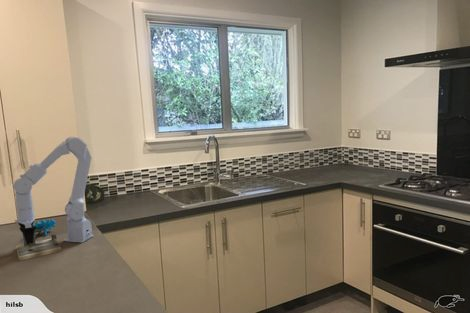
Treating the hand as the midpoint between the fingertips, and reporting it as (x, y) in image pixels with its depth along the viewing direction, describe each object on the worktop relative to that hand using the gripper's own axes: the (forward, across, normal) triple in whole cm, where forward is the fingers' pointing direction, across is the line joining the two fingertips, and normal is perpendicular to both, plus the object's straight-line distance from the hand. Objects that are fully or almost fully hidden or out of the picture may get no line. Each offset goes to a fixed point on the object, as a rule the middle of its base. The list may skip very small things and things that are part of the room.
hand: (29, 240), depth 144 cm
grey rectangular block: (+1, +2, 0) cm, 2 cm away
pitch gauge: (+4, +3, +3) cm, 6 cm away
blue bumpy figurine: (+4, -18, +7) cm, 19 cm away
